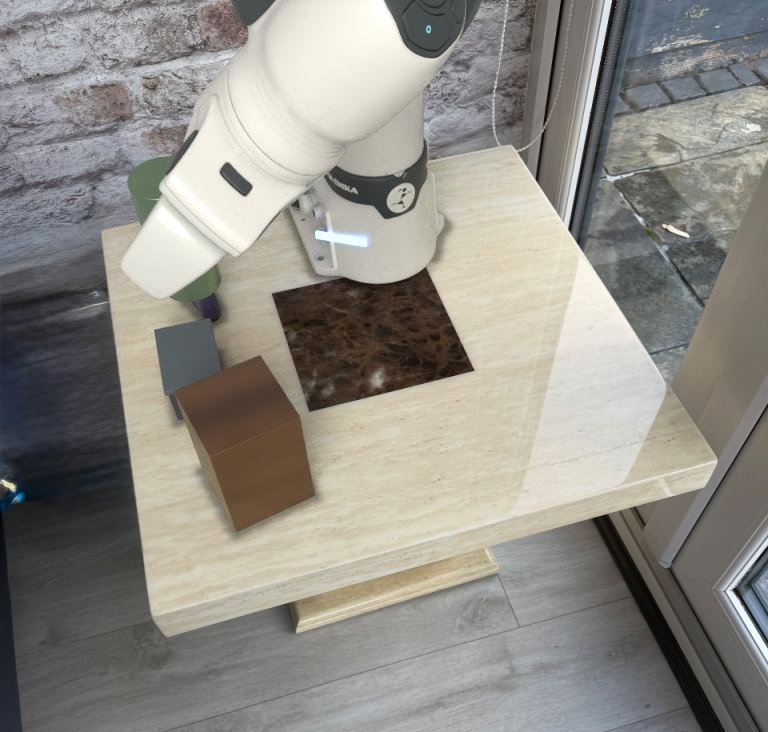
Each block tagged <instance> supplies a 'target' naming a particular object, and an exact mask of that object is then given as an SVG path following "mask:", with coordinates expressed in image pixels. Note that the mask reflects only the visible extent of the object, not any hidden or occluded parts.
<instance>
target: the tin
mask: <svg viewBox="0 0 768 732" xmlns="http://www.w3.org/2000/svg"><path fill="white" fill-rule="evenodd" d="M175 157H176V156H158V157H157V156H156V157H153V158H150V159H147V160H145V161H142V162H141V163H139V164H137V165H136V166H135V167H134V168H133V169H132V170H131V171H130V173H129V174H128V176H127V181H126V185H127V188H128V191H129V194H130V197H131V200H132V204H133V206H134V209H135V212H136V215H137V218H138V221H139V224H140V227H141V226H142V225H143V223H144V222H145V220H146V219H147V217H148V216H149V214H150V213H151V211H152V209H153V208H154V206H155V205H156V203H157V201H158V200H159V198H160V197H161V195H162V192H161V191H160V190H159V184H160V182H161V181H162V180H163V178H164V177H165V175H166V174H165V173H166V171H167V170H168V168H169V167H170V165H171V164H172V162H173V160H174V159H175ZM221 283H222V272H221V269H220V264H219V262H218V263H217V264H216V265H215V266H213V267H212V268H211V269H210V270H209V271H207V272H206V273H205V274H203V275H202V276H200V277H199V278H198V279H196V280H195V281H193V282H192V283H190V284H189V285H188V286H186V287H185V288H183V289H182V290H180V291H178V292H177V293H175V294H174V295H172V296H171V297H169V298H170V299H171V300H174V301H175V302H176V301H178V302H180V303H181V302H182V303H188V302H194V301H198V300H202V299H204V298H206V297H208V296H210V295H211V294H213V293H214V292H215V293H216V291H217V290H218V289H219V287H220V286H221Z"/></svg>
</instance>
